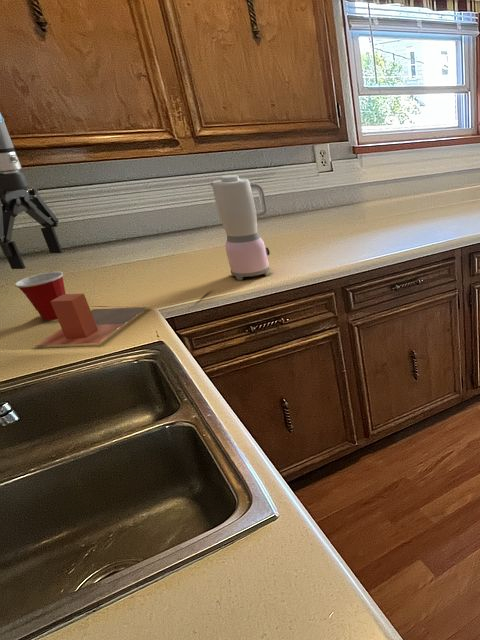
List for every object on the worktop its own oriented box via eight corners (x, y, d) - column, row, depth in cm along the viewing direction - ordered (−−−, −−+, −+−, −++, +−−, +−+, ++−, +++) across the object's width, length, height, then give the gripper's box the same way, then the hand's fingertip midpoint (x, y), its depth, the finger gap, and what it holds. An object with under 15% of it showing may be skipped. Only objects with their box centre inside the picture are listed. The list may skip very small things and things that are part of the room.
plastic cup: (38, 314, 147) (20, 274, 141) (83, 308, 151) (67, 268, 145) (26, 328, 138) (6, 286, 132) (74, 321, 142) (57, 280, 136)
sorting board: (36, 348, 127) (35, 345, 127) (94, 311, 148) (93, 309, 148) (99, 345, 128) (98, 342, 127) (148, 309, 149) (147, 307, 149)
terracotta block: (65, 338, 130) (50, 301, 125) (78, 330, 134) (63, 294, 130) (86, 337, 130) (71, 300, 126) (98, 329, 135) (84, 293, 130)
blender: (237, 282, 169) (213, 180, 154) (227, 274, 178) (202, 176, 163) (285, 273, 178) (266, 175, 163) (273, 265, 186) (253, 171, 172)
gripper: (-24, 180, 110) (17, 275, 120) (55, 164, 132) (84, 246, 142) (-61, 180, 110) (-17, 276, 120) (24, 165, 132) (56, 247, 142)
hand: (38, 260), depth 131 cm, fingers open, 13 cm apart
